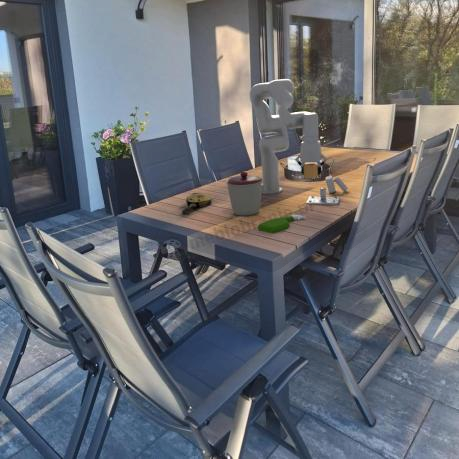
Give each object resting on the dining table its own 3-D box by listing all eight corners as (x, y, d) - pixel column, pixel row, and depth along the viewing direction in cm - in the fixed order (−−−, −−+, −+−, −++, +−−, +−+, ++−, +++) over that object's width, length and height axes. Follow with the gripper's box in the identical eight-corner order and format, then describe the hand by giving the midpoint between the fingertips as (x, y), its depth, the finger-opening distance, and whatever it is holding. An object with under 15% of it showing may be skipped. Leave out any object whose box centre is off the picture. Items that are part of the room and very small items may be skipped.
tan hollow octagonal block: (303, 177, 244) (302, 165, 242) (305, 174, 250) (305, 163, 248) (317, 177, 241) (316, 165, 240) (319, 174, 248) (319, 162, 246)
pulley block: (172, 203, 248) (193, 188, 275) (172, 213, 250) (192, 198, 277) (198, 207, 245) (217, 192, 272) (198, 218, 247) (216, 202, 274)
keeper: (305, 204, 251) (305, 191, 248) (309, 198, 261) (309, 185, 259) (337, 204, 246) (337, 191, 244) (340, 198, 257) (340, 185, 254)
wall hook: (348, 192, 265) (344, 174, 262) (330, 197, 268) (325, 179, 265) (348, 188, 272) (344, 171, 270) (330, 193, 275) (325, 176, 273)
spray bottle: (256, 230, 218) (290, 217, 235) (274, 234, 211) (308, 220, 227) (255, 224, 217) (290, 211, 234) (274, 228, 210) (308, 214, 226)
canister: (253, 220, 232) (250, 176, 225) (221, 216, 241) (218, 174, 235) (270, 209, 246) (268, 168, 240) (240, 206, 256) (237, 167, 249)
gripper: (291, 140, 239) (292, 176, 245) (327, 139, 234) (327, 176, 239) (294, 138, 246) (295, 172, 252) (329, 137, 240) (329, 172, 246)
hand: (311, 174), depth 245 cm, fingers closed on tan hollow octagonal block, 7 cm apart
